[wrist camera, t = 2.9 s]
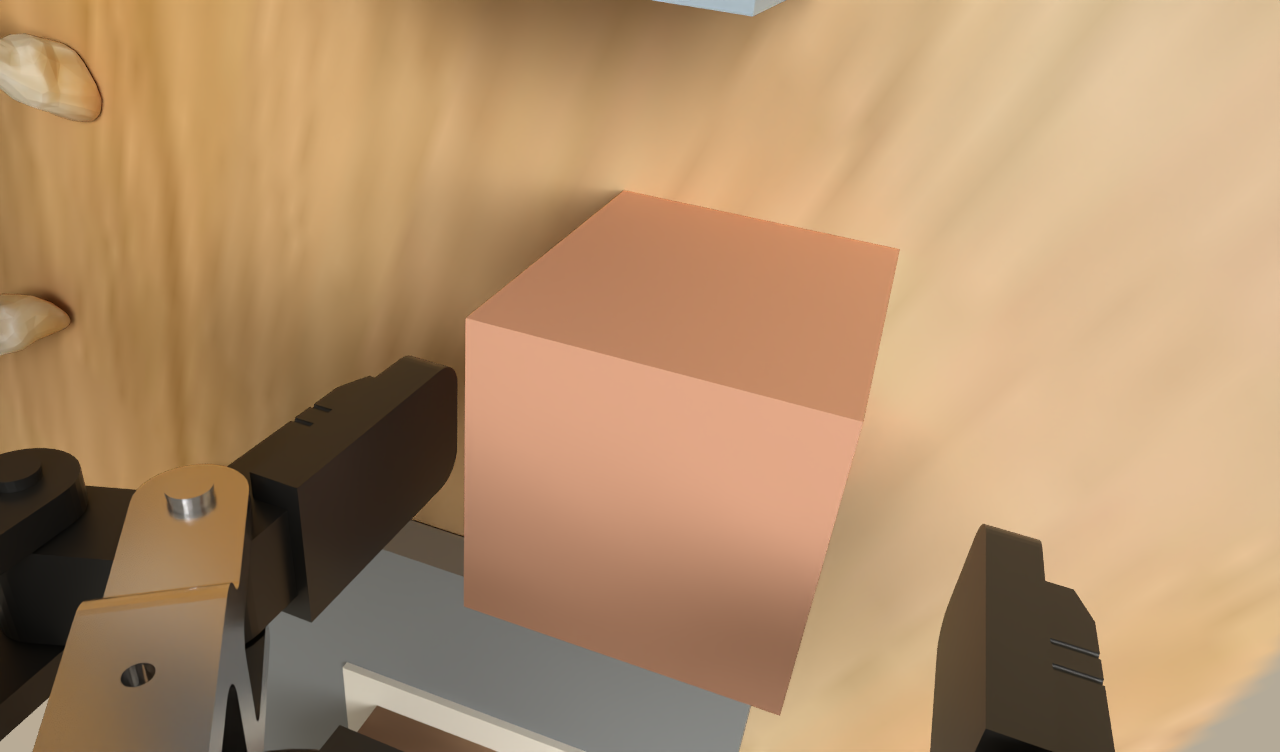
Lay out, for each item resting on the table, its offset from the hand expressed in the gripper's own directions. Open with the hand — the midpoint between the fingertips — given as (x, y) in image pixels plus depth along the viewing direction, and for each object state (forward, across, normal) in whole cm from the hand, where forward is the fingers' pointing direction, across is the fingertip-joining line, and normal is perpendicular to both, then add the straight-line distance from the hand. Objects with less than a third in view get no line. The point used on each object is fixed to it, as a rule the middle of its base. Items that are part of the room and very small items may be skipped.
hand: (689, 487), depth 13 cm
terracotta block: (+4, 0, 0) cm, 5 cm away
